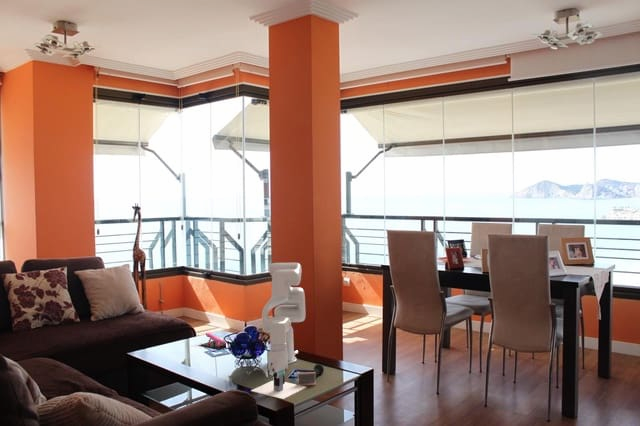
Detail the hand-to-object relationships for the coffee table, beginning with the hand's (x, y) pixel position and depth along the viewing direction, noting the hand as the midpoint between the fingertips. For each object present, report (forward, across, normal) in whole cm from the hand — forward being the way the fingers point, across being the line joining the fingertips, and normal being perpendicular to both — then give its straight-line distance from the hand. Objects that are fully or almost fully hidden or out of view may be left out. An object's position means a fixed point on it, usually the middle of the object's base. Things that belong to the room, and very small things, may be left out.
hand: (279, 384), depth 264 cm
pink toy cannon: (+4, -41, -85) cm, 94 cm away
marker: (+3, 0, -1) cm, 3 cm away
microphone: (+4, -24, +2) cm, 25 cm away
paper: (+3, -2, -2) cm, 4 cm away
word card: (+3, -14, +6) cm, 15 cm away
